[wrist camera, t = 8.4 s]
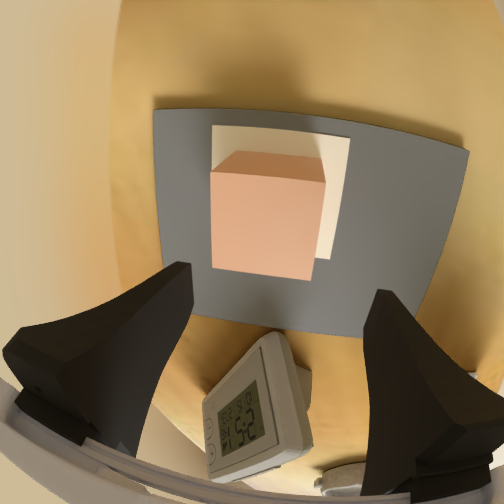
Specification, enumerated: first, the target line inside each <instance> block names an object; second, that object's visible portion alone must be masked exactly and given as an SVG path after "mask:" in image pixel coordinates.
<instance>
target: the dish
mask: <svg viewBox="0 0 504 504" xmlns="http://www.w3.org/2000/svg"><path fill="white" fill-rule="evenodd" d="M365 465H366V462H364V463H355V464H349V465H344V466H340V467H337V468H334V469H331V470H328V471H326V472H325V473H324V474H323V476H322V478H317V479H316V481H315V482H314V488H315V489H316V488H320V490H321V493H322V495H323V496H328V497H355V496H360V493H361V488H362V483H363V478H364V472H365Z"/></svg>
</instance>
